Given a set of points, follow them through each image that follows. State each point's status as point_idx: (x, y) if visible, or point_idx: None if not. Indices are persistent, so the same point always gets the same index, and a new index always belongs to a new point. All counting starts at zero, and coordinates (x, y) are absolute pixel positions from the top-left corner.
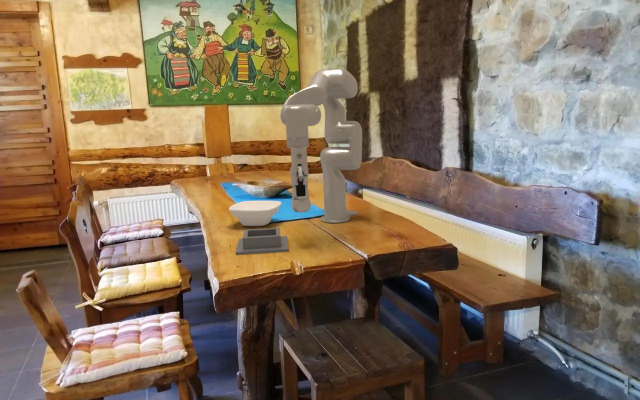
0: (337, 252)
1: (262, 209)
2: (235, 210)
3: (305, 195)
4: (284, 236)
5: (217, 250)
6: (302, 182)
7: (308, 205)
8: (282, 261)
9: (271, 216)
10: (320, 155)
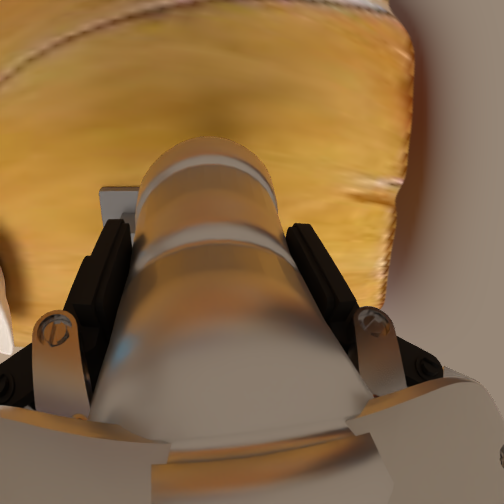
0: (329, 50)
1: None
2: (13, 346)
3: (307, 225)
4: (104, 199)
5: None
6: (406, 347)
7: (261, 162)
8: (340, 217)
9: None
10: None
